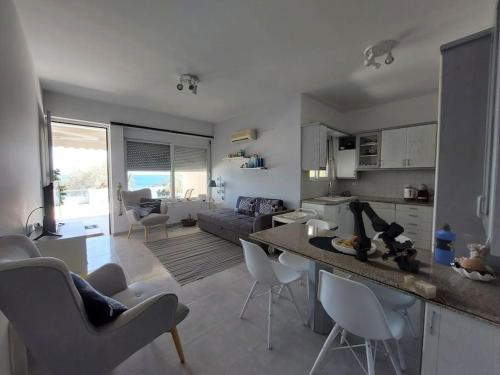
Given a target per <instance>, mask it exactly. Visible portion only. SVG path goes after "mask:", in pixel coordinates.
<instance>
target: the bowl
mask: <svg viewBox="0 0 500 375" xmlns="http://www.w3.org/2000/svg"><path fill="white" fill-rule="evenodd" d="M357 237H358V235H354V236H353V237H343V236H342V237H336V238H333V239H332V240H331V245H332V247H334V249H336V250H337V251H338V252H341V253H344V254H347V255H353V256H356V250H354V248H353V246H354V245H355V244H356V239H357ZM371 243H372V244H371V245H372V246H371V249H370V251H367V254H368V256H369V255H372V254H374V253H375V252H376V250H377V245H376V243H374V242H372V241H371Z"/></svg>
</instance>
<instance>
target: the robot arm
mask: <svg viewBox="0 0 500 375" xmlns="http://www.w3.org/2000/svg"><path fill="white" fill-rule="evenodd" d="M348 207H349V209H350V210H349V211H350V212H351V213H352V215H353V216H354V222H355V227H356V228H355V229H356V233H357V236H358V237H357V239H356V244H355V245H354V246H353V248H354V250H356V255H355V256H354V257H353V258H354V259H355V260H357V261H359V262H369V261H370V259H368V256H369V255H368V254H367V251H370V249H371V246H372V245H371V244H372V243H373V242H372V239H371V237H368V235H367V233H366V228H365V222H364V217H363V213H365V215H366V216H367V218H368V219H369V220H370V222H371V227H372V228H373V230H374V232H375V233H378V236H377V239H378V240H381V241H382V242H383V243H384V245H385V246H384V248H385V249H387V250H388V251H385V252H383V253H382V254H381V255H380V258H381V260H382V261H383V262H385V261H388V260H389V258H393V259H392V262H395V263H396V264H397V263H398V264H399V265H401V266H402V267H404V268H405V269H404V270H406V269H407V270H406V271H408V272H412V271H411V267H410V263H409V257H411V256H413V255H415V254H416V253H417V254H418V251H417V250H416V248H414V247H413V246H414V243H413V242H412V240H410V239H408V240H404V242H401V241H400V240H396V239H397V238H398V237H400V236H401V235H402V234H403V233H404V232H405V228H404V227H403V226H402V225H401V224H399V223H397V222H396V221H392V222H391V223H390V224H389V222H387V221H386V220H385V219H383V218H382V217H380V216H379V215H378V214H377V213H376V211H375V210H374V209H373V208H372V206H371V205H370V202H368V201H361V200H354V201H353V200H351V201H350V202H349V203H348ZM371 242H372V243H371ZM408 248H411V249H408ZM406 249H407V250H406ZM404 250H405V251H404Z"/></svg>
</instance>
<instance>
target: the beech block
mask: <svg viewBox="0 0 500 375" xmlns="http://www.w3.org/2000/svg"><path fill="white" fill-rule="evenodd" d="M401 282H402V287H404V288H406V289H407V290H409V291H411V292H413V293H415V294H417V295H420V296H421V297H423V298H425V299H427V300H428V299H434V298H436V297H437V286H436V285H433V284H431V283H429V282H427V281H424V280H422V279H420V278H418V277H416V276H414V275H411V274H408V275H403V276H402V281H401Z"/></svg>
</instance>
